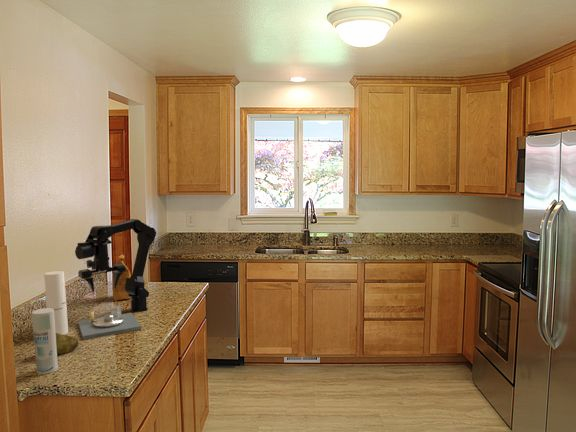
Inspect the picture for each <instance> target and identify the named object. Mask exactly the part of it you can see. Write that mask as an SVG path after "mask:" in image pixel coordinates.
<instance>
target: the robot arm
mask: <svg viewBox="0 0 576 432" xmlns="http://www.w3.org/2000/svg"><path fill="white" fill-rule="evenodd" d="M129 230H132V231H133V232H134V233H135V234H136V239H137V242H138V247H137V251H136V252H137V253H136V256H135V259H134V265H133V270H132V273H131V277H130V278H127V279H126V284H125V291H126V292H127V293H128V295H129V297H131V298H130V299H131V300H129V303H130V310H131V311H132V312H133V313H137V312H143V311H148V310H149V309H148V308H147V307H148V305H147V298H149V297H150V291H148V290H147V289H146V288H145V286H146V285H145V280H144V274H145V267H146V264H147V259H148V255H149V250H150V246H151V245H152V244H153V243H154V242H155V238H156V237H157V231H156V229H155V228H154V227H150V225H147V224H146V223H144V222H143V221H141V220H140V219H137V218H136V219H135V218H131V219H129V220H125V221H122V222H116V223H114V224H110V225H93V226H92V227H91V228H90V230H89V234H88V235H87V237H86V238H85V241H84V242H77V246H76V247H75V250H74V253H75V257H76V258H77V259H78V260H84V259H87V260H86V269H80V270H78V272H77V273H78V277H79V278H81V279H83V280H84V281H86V282H87V284H88V285H89V288H90V290H91V291H92V292H91V293H95V284H94V277H92V276H93V275H98V274H105V273H110V272H111V273H112V282H113V286H114V288H116V285H117V283H118V280H119V278H120V276H121V274H123V272H124V271H126V267H125V265H126V264H125V265H123V264H117V263H115V264H112V266H110V256H109V250H108V249H109V247H108V246H109V244H113V241H111V240H110V239H109V238H111V237H112V236H114V235H116V234H118V233H119V234H120V233H122V232H125V231H129ZM88 258H93V260H92V259H88ZM89 268H90V269H91V270H90V269H89Z"/></svg>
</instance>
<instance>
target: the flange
mask: <svg viewBox="0 0 576 432" xmlns="http://www.w3.org/2000/svg"><path fill="white" fill-rule="evenodd" d="M109 309H110V313H107V314H103V316H102V318H101V317H98V318H99V319H96V320H95V321H94V322H93V325H94V326H96V327H111V326H116V325H119V324H121V323H123V322H124V318H123V317H121V314H122V305H120V304H119V305H118V304H116V305H115V304H113V306H111V307H109Z"/></svg>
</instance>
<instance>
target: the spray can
mask: <svg viewBox="0 0 576 432" xmlns="http://www.w3.org/2000/svg"><path fill="white" fill-rule="evenodd" d="M31 320H32V322H31V323H32V333H33V344H34V345H33V346H34V353H35V354H34V355H35V356H34V357H35V367H36V372H37V374H39V375H47V374H51V373H54V372H56V371H57V370H58V367H59V366H58V365H59V364H58V362H59V361H58V354H57V348H56V333H55V318H54V309H52V308H47V307H45V308H39V309H36V310H33V311H32V312H31Z"/></svg>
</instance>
